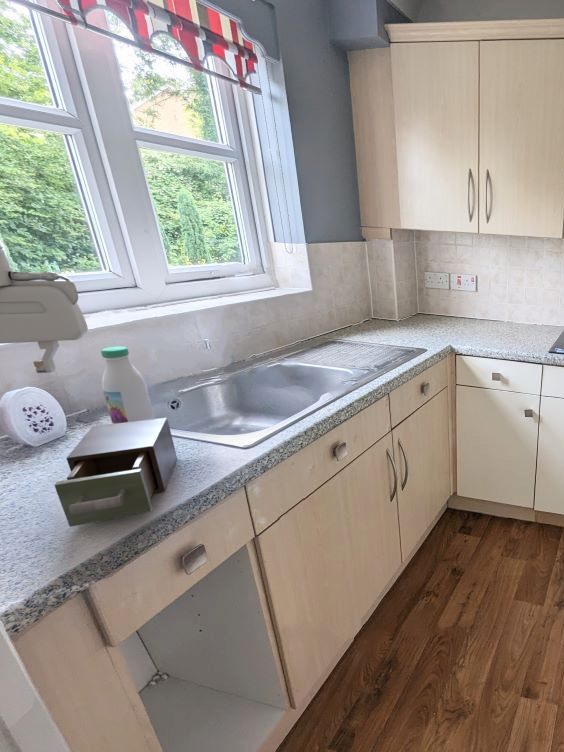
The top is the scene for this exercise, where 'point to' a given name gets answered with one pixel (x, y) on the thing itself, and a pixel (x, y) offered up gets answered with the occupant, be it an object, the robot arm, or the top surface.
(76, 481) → the drawer
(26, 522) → the top surface
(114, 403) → the milk bottle
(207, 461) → the top surface
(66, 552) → the top surface
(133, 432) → the cabinet
